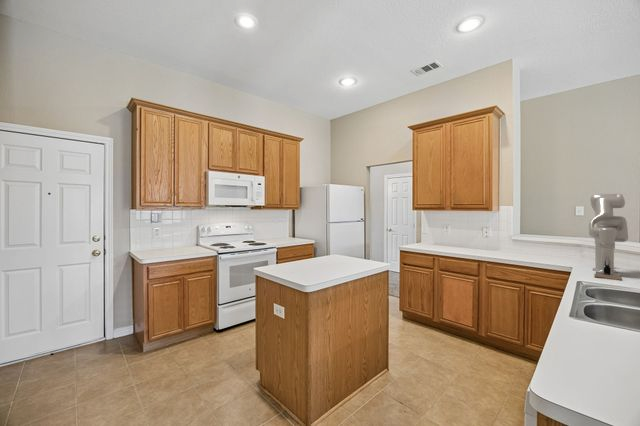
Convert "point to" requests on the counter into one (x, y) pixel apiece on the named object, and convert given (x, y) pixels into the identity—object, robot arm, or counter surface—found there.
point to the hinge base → (608, 277)
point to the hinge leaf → (607, 273)
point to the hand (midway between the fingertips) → (607, 273)
